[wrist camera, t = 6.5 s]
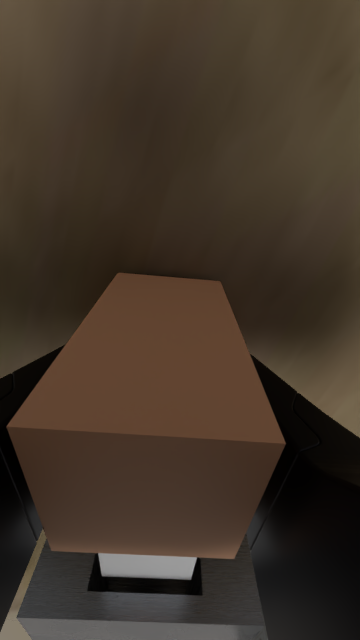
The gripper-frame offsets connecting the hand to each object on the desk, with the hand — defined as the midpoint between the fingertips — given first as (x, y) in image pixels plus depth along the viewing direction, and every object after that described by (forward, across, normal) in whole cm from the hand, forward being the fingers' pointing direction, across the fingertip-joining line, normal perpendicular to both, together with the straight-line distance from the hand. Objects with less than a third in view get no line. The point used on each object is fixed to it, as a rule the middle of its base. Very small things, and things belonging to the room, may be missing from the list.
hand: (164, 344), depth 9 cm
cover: (+2, 0, +4) cm, 5 cm away
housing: (+2, 0, +14) cm, 15 cm away
